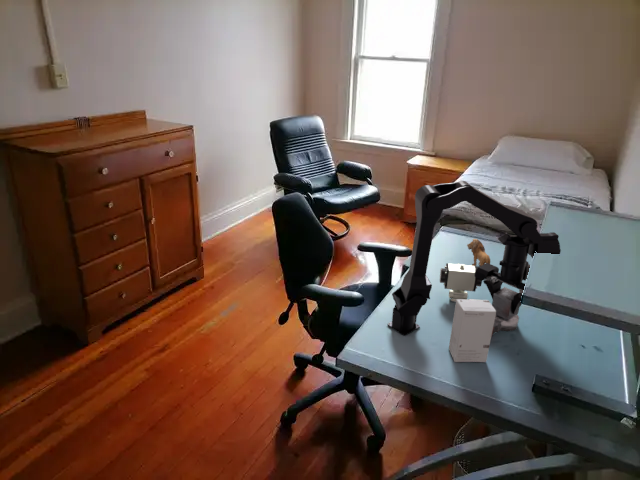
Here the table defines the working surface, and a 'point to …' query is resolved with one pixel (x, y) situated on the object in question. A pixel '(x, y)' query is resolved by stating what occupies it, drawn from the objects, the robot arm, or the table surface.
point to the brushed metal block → (504, 303)
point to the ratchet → (505, 324)
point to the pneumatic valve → (459, 280)
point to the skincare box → (471, 330)
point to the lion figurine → (478, 252)
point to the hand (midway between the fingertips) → (505, 309)
